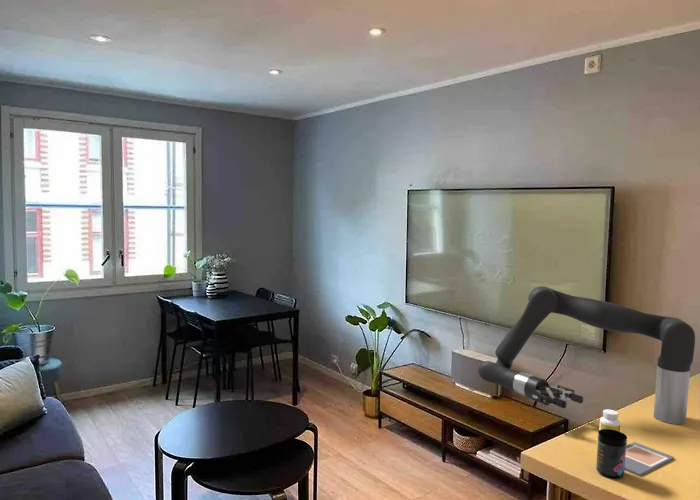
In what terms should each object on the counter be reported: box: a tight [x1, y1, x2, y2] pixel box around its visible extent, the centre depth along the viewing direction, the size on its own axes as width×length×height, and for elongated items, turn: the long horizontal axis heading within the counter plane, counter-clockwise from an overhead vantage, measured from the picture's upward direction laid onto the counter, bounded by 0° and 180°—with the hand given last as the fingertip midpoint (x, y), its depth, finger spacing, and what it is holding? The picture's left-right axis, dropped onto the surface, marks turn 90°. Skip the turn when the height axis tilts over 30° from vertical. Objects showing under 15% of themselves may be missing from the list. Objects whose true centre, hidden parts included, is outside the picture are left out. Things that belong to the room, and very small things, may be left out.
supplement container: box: [595, 429, 628, 480], centre depth 138 cm, size 7×7×10 cm
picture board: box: [625, 441, 675, 477], centre depth 147 cm, size 18×11×1 cm, turn 124°
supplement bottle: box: [598, 408, 621, 432], centre depth 155 cm, size 5×5×10 cm
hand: (574, 402), depth 164 cm, fingers open, 8 cm apart
